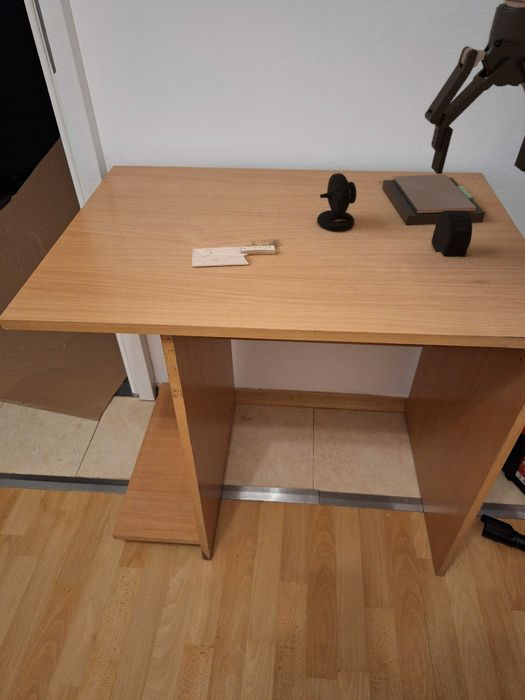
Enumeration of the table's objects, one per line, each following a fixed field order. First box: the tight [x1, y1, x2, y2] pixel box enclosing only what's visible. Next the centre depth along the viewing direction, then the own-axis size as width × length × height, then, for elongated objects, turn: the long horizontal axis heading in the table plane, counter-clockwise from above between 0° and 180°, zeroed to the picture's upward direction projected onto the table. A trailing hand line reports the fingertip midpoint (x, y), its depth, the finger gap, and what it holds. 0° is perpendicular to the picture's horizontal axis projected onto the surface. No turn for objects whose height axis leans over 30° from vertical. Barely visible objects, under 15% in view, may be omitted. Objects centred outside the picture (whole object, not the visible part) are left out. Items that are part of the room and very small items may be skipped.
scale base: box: [381, 177, 486, 226], centre depth 104 cm, size 16×18×3 cm
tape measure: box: [430, 210, 473, 258], centre depth 84 cm, size 15×4×8 cm, turn 1°
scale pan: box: [392, 174, 476, 213], centre depth 103 cm, size 12×17×1 cm
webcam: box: [316, 172, 357, 232], centre depth 95 cm, size 8×8×10 cm
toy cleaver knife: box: [191, 245, 276, 268], centre depth 87 cm, size 5×15×1 cm, turn 94°
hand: (478, 169), depth 76 cm, fingers open, 13 cm apart
